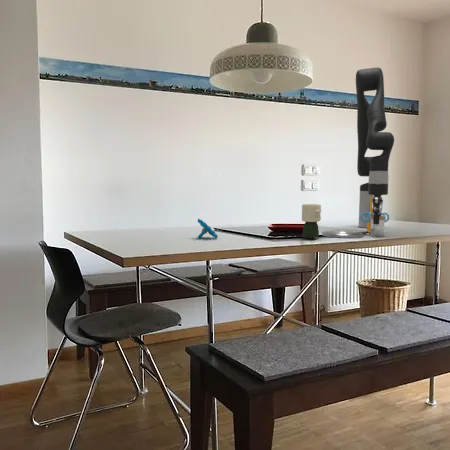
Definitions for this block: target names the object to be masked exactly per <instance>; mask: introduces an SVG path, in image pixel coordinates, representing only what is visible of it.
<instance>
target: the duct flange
mask: <svg viewBox="0 0 450 450" xmlns="http://www.w3.org/2000/svg"><path fill="white" fill-rule="evenodd" d="M321 235H322V236H323V237H325V238H336V239H361V238H363V237H364V233H363V232H361V231H360V232H359V231H353V230H352V231H351V230H327V231H326V230H324V231H322V232H321Z"/></svg>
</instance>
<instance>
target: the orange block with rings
mask: <svg viewBox="0 0 450 450" xmlns="http://www.w3.org/2000/svg"><path fill="white" fill-rule="evenodd" d="M373 198H374V197H371V198H370V212H364V213H362V214H361V215H360V219H361V221H363V222H367V228H366V232H367V233H369V234H370V229H371V219H370V218H371V216H373V215H374V214H373V209H372V205H373V204H372V200H373ZM364 214H365V216H364V217H365V220H363V219H362V215H364ZM380 214H381V216H385V219H384V223H387V222H388V221H389V220H390V214H389V213H388V212H381V213H380ZM366 215H368V219H367V218H366Z"/></svg>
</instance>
